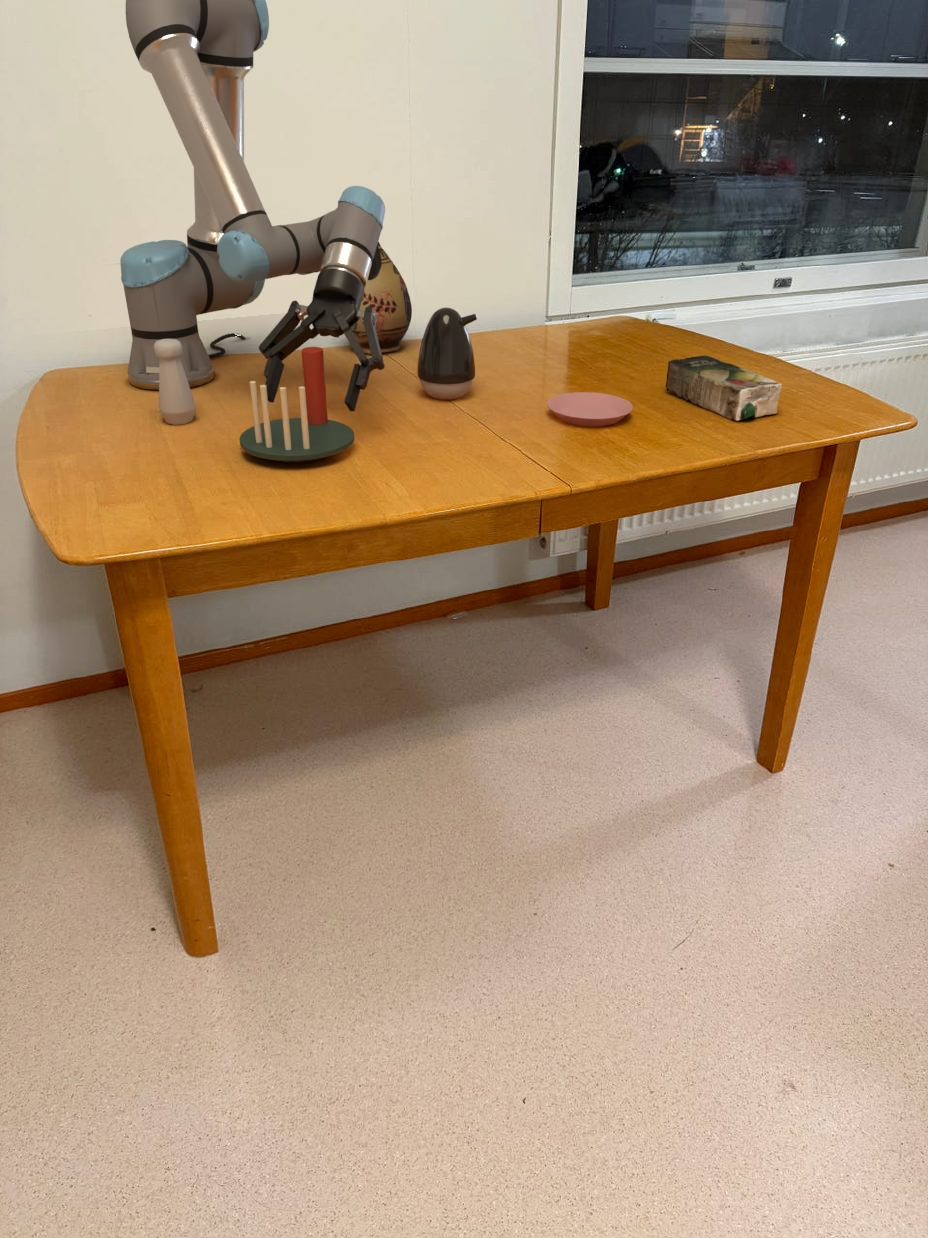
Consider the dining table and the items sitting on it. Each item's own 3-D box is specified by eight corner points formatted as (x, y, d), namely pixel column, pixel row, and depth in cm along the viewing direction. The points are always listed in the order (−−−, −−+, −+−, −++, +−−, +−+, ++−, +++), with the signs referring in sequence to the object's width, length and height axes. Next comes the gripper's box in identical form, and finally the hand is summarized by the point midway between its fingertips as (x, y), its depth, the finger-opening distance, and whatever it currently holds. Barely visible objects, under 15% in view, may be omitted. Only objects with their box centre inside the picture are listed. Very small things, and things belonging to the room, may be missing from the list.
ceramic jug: (348, 338, 199) (340, 186, 184) (418, 341, 197) (416, 188, 182) (327, 358, 184) (316, 195, 169) (403, 362, 183) (399, 197, 167)
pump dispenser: (469, 406, 159) (471, 315, 151) (411, 401, 160) (409, 312, 153) (480, 389, 167) (482, 303, 160) (425, 385, 169) (424, 299, 161)
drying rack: (324, 471, 129) (318, 382, 123) (218, 457, 134) (207, 369, 127) (372, 433, 143) (368, 351, 137) (275, 421, 148) (267, 341, 141)
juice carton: (783, 415, 156) (790, 379, 153) (740, 424, 152) (745, 387, 149) (703, 386, 171) (708, 352, 168) (662, 393, 167) (665, 359, 164)
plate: (582, 398, 163) (583, 386, 162) (648, 416, 155) (649, 405, 154) (528, 415, 155) (529, 403, 154) (595, 436, 146) (596, 423, 145)
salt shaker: (204, 417, 152) (193, 337, 145) (184, 428, 147) (172, 346, 141) (174, 413, 154) (162, 334, 147) (153, 423, 149) (140, 342, 142)
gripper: (422, 300, 145) (391, 422, 140) (279, 290, 151) (245, 406, 146) (410, 271, 138) (377, 398, 133) (260, 261, 144) (224, 382, 139)
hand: (308, 402), depth 140 cm, fingers open, 13 cm apart
